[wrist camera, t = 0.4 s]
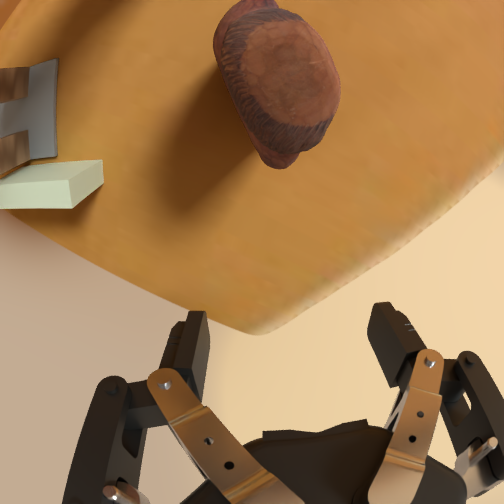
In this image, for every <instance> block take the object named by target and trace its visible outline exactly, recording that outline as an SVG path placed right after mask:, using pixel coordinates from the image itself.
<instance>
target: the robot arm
mask: <svg viewBox="0 0 504 504" xmlns="http://www.w3.org/2000/svg"><path fill="white" fill-rule="evenodd" d="M367 335H368V339H369V342H370V344H371V346H372V348H373V350H374V352H375V355H376V357H377V359H378V361H379V364H380V366H381V368H382V370H383V373H384V375H385V377H386V380H387V382H388V384H389V387H390V388H392V387H397V386H399V388H400V391H399V392H398V394H397V398H396V400H395V403H394V405H393V408H392V411H391V413H390V415H389V418H388V420H387V422H386V424H385V426H384V428H382V427H378V426H370V425H368V422H367V419H363V420H359V421H353V422H347V423H342V424H340V425H337V426H335V427H332V428H329V429H327V430H324V431H322V432H317V433H315V432H304V431H296V430H278V431H277V430H276V431H263V438H259V439H256V440H253V441H250V442H248V443H246V444H244V445H243V446H242V445H241V444H240V443H239V442H238V441H237V440H236V439H235V437H234V436H233V435H232V434H231V433H230V432H229V431H228V429H227V428H226V427H225V426H224V425H223V424H222V422H221V421H220V420H219V419H218V418H217V417H216V415H215V414H214V413H213V412H212V411H211V409H210V408H208V407H207V406H205V407H204V406H203V405H202V404H201V402H202V396H203V389H204V383H205V376H206V369H207V362H208V356H209V350H210V334H209V329H208V322H207V316H206V312H205V311H189V312H188V316H187V319H186V321H182V322H181V321H179V322H178V323H176V325H175V326H174V327H173V328H172V329H171V332H170V335H169V338H168V341H167V345H166V347H165V350H164V353H163V357H162V360H161V363H160V366H159V369H158V370H156V371H154V372H153V373H151V374H150V376H149V377H148V379H147V380H144V381H139V382H133V383H127V382H126V381H125V379H123V378H122V377H119V376H109V377H106V378H104V379H103V380H101V382H100V383H99V384H98V386H97V388H96V391H95V393H94V396H93V399H92V402H91V404H90V407H89V410H88V413H87V416H86V419H85V422H84V425H83V428H82V431H81V434H80V437H79V440H78V444H77V447H76V450H75V453H74V457H73V461H72V464H71V468H70V471H69V475H68V479H67V483H66V488H65V492H64V496H63V501H62V504H150V502H149V500H148V498H147V497H146V496H145V495H144V494H142V493H141V492H139V491H138V484H139V477H140V470H141V463H142V457H143V451H144V446H145V440H146V434H147V429H148V428H151V427H157V426H163V425H168V427H169V428H170V430H171V431H172V433H173V434H174V436H175V437H176V439H177V440H178V442H179V444H180V445H181V446H182V448H183V449H184V451H185V452H186V454H187V455H188V457H189V458H190V460H191V461H192V463H193V464H194V465H195V467H196V468H197V469H198V471H199V472H200V473H201V475H202V476H203V477H204V479H205V481H204V482H203V483H202V484H201V485H200V486H199V487H198V488H197V489H196V490H195V491H194V492H192V493H191V494H190V495H189V496H188V497H187V498H186V499H184V500H183V501H182V502H181V503H180V504H466V500H467V499H469V498H471V497H478V496H480V495H482V494H484V493H486V492H487V491H489V490H490V489H492V488H494V487H495V486H497V485H498V484H500V483H501V482H503V481H504V399H503V397H502V395H501V394H500V392H499V390H498V388H497V386H496V384H495V382H494V381H493V379H492V377H491V376H490V374H489V372H488V371H487V369H486V367H485V366H484V364H483V363H482V361H481V359H480V358H479V356H477V355H476V354H475V353H473V352H471V351H463V352H461V353H460V354H459V356H458V358H457V359H443V357H442V356H441V354H440V353H438V352H437V351H435V350H432V349H427V347H426V346H425V344H424V343H423V341H422V340H421V338H420V336H419V335H418V333H417V332H416V330H415V329H414V327H413V326H412V325H411V323H410V321H409V320H408V318H407V317H406V316H405V315H404V314H403V313H401V312H400V311H396V310H395V309H394V307H393V306H392V304H391V303H390V302H380V303H375V304H374V306H373V308H372V312H371V316H370V320H369V324H368V328H367ZM464 392H466V394H467V396H468V398H469V400H470V402H471V410H470V409H469V406H468V404H467V402H466V400H465V398H464V396H463V394H464ZM439 410H440V412H441V415H442V417H443V420H444V422H445V425H446V427H447V430H448V433H449V436H450V438H451V441H452V444H453V447H454V450H455V453H456V456H457V459H456V462H455V468H454V470H452V469H450V468H448V467H447V466H445V465H443V464H442V463H440V462H438V461H437V460H435V459H433V458H432V457H430V456H429V455H427V454H428V450H429V447H430V444H431V441H432V437H433V433H434V430H435V426H436V423H437V419H438V414H439Z"/></svg>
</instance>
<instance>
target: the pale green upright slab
mask: <svg viewBox="0 0 504 504" xmlns="http://www.w3.org/2000/svg"><path fill="white" fill-rule="evenodd" d="M103 183H104V179H103V164H102V160H86V161H71V162H59V163H48V164H39V165H30V166H23V167H21V168H20V169H18V170H16V171H14V172H12V173H10V174H8V175H7V176H5V177H3V178H1V179H0V209H20V208H71V209H72V208H74V207H75V206H76V205H77V204H78V203H79V202H81V201H82V200H83V199H84V198H86V197H87V196H88V195H89V194H91V193H92V192H93V191H94V190H96V189H97V188H98V187H99V186H101V185H102V184H103Z"/></svg>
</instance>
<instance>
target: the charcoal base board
mask: <svg viewBox="0 0 504 504" xmlns="http://www.w3.org/2000/svg"><path fill="white" fill-rule="evenodd" d="M58 61H59V58H55V59H52V60H49V61H46V62H43V63H40V64H37V65H34V66H31V67H30V71H29V85H28V97H25V98H22V99H19V100H15V101H10V102H5V103H1V104H0V138H2V137H5V136H7V135H10V134H13V133H16V132H20V131H24V130H28V135H29V150H30V159H37V158H45V157H54V156H57V155H58V154H57V137H56V88H57V72H58Z"/></svg>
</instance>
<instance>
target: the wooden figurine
mask: <svg viewBox="0 0 504 504" xmlns="http://www.w3.org/2000/svg"><path fill="white" fill-rule="evenodd" d="M213 49H214V54H215V57H216V61H217V63H218V66H219V68H220V71H221V73H222V76H223V79H224V82H225V84H226V87H227V89H228V91H229V93H230V95H231V98H232V101H233V103H234V105H235V108H236V110H237V112H238V114H239V116H240V118H241V120H242V122H243V124H244V126H245V128H246V130H247V132H248V134H249V137H250V139H251V141H252V143H253V145H254V147H255V148H256V150H257V151H258V153H259V156H260V158H261V160H262V161H263V162H264V163H265V164H266V165H267V166H269V167H272V168H274V169H285V168H287V167H288V166H290V165H291V164H292V163H293V162H294V161H295V160H296V159H297V157H298V155H299V153H300V152H302V151H308V150H309V149H311V148H313V147H314V146H316V145H317V144H318V143H319V142H320V141H321V140H322V138H323V136H324V135H325V132H326V130H327V128H328V126H329V124H330V123H331V121H332V119H333V117H334V115H335V113H336V111H337V108H338V105H339V102H340V94H341V87H340V78H339V74H338V72H337V70H336V67H335V65H334V62H333V59H332V57H331V55H330V52H329V50H328V48H327V46H326V44H325V42H324V40H323V39H322V37H321V36H320V35H319V34H318V32H317V31H316V30H315V29H314V28H313V27H311V26H310V25H309V24H308V23H307V22H306V21H304V20H303V19H302V18H301V17H300V16H299V15H297V14H295V13H292V12H289V11H288V10H284V9H279V7H278V5H277V3H276V2H275V1H274V0H241V1H239V2H238V3H237V4H235V5H234V6H233V7H232V8H230V9H229V11H228V12H227V13H226V14H225V15H224V17H223V18H222V19H221V21H220V23H219V24H218V26H217V29H216V31H215V34H214V39H213Z"/></svg>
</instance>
